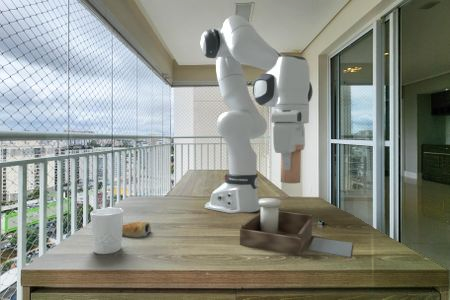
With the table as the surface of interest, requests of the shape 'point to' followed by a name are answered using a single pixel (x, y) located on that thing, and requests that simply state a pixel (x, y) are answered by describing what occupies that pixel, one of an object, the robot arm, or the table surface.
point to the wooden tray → (279, 233)
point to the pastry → (136, 229)
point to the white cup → (107, 230)
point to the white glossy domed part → (269, 215)
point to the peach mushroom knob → (292, 167)
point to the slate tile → (331, 247)
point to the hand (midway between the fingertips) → (290, 168)
